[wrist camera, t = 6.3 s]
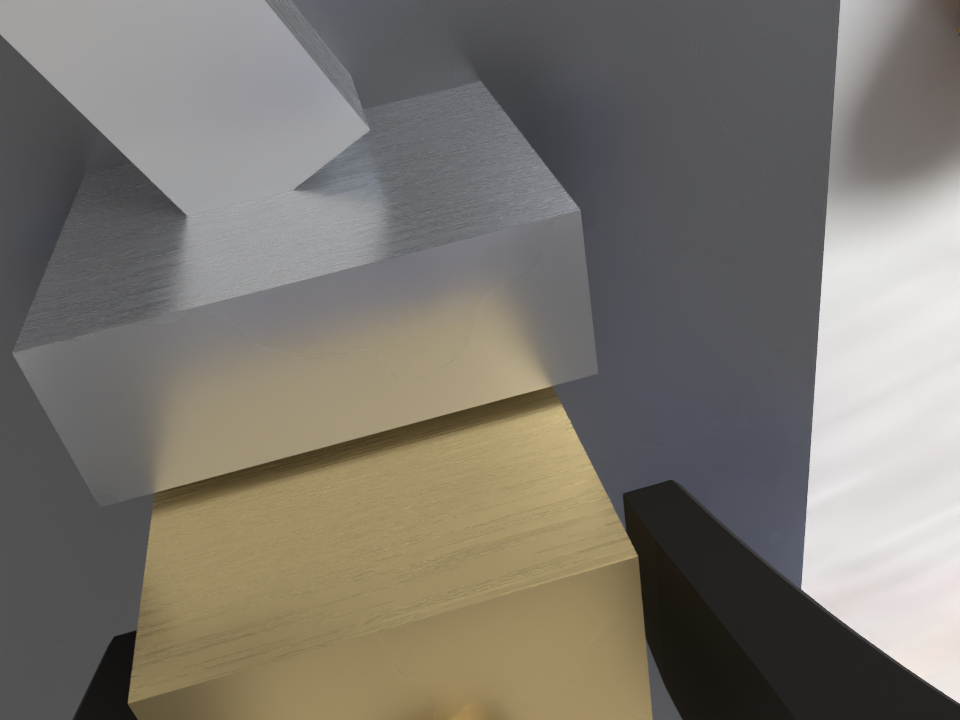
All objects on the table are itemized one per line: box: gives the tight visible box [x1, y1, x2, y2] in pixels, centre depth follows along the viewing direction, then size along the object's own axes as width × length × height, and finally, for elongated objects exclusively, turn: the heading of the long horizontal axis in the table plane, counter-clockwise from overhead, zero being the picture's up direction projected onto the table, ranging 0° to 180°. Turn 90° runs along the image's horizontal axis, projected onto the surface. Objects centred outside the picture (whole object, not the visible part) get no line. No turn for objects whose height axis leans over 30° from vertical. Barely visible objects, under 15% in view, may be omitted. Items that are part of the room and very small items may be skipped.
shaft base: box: [0, 0, 840, 720], centre depth 11 cm, size 21×17×4 cm
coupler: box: [128, 386, 653, 720], centre depth 10 cm, size 6×4×6 cm, turn 10°
